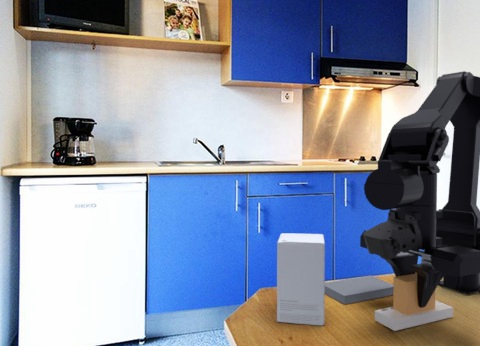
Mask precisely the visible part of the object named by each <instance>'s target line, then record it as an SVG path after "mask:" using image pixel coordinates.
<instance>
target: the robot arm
mask: <svg viewBox="0 0 480 346" xmlns="http://www.w3.org/2000/svg"><path fill="white" fill-rule="evenodd" d="M449 122H450V124H452V126H453V134H452V135H453V137H452V148H451V160H450V161H451V162H450V173H449V184H448V185H449V186H448V197H447V202H446V204H444V206H443V207H442V209H441V208H440V209H437V207H438V206H437V205H438V204H437V203H438V202H437V201H438V199H437V197H438V195H437V194H438V174H439V173H440V171H441V168H440V167H439V166H438V165H437V164H438V163H439V162H441V160H442V158H443V155H444V153H445V151H446V149H447V147H448V146H449V142H450V137H449V135H448V133H447V130H446V128H447V125H448V123H449ZM479 173H480V76H476V75H474V74H473V73H472V72H470V71H459V72H458V71H457V72H451V73H445V74H442V75H441V76H439V77H437V79H436V83H435V86H434V88H433V89H432V90H431V92H429V93H428V96H427V97H426V98H425V100H424V101H423V102H422V104H421V105H420V107H418V109H417V110H416V111H415V112H413V113H411V114H409V115H407V116H404V117H402V118H400V119H399V120H398V121H397V122H396V123H395V124H393V126H392V127H391V129H390V131H389V133H388V134H387V137H386V140H385V142H384V145H383V147H382V151H381V153H380V155H379V158H378V160H377V168H376V169H375V170H373V171H372V172H370V173H369V175H368V176H367V178H366V180H365V183H364V185H363V191H364V195H365V198H366V200H367V201H368V203H369V204H370V205H371V206H372V207H374V208H375V209H377V210H381V211H388V213H387V220H386V221H384V222H381V223H378V224H376V225H375V226H373V227H371V228H369V229H365V230H363V231H362V233H361V235H359V239H360V240H359V243H360V244H359V246H360V247H361V248H364V249H366V250H367V251H368V253H369V255H377V256H379V257H380V258H381V259H383V260H385V262H387V263H388V264H389V265H390V266H391V268H392V271H393V273H394V275H395V276H394V277H398V276H404V275H410V274H416V273H417V298H418V306H419V307H420V308H423V307H426V305H427V303H428V301H429V300H430V298H431V296H432V294H433V293H434V291H435V292H436V289H437V287H438V286H441V287H444V288H446V289H449V290H452V291H455V292H457V293H460V294H463V295H472V294H477V293H480V209H479V207H478V205H477V199H478V188H479V187H478V185H479V175H480V174H479ZM419 257H420V258H421V260H420V263H418V262H419Z"/></svg>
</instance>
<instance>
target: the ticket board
mask: <svg viewBox="0 0 480 346" xmlns="http://www.w3.org/2000/svg"><path fill="white" fill-rule="evenodd" d="M325 295H326V296H329V297H330V298H332V299H334V300H335V301H337V302H339V303H341V304H343V305H349V304H355V303H360V302H364V301H369V300H375V299H380V298H385V297H389V296H394V283H391V282H388V281H385V280H383V279H381V278H378V277H376V276H374V275H364V276H358V277H353V278H346V279H341V280H340V279H339V280H335V281H328V282H325Z"/></svg>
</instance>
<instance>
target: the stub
mask: <svg viewBox="0 0 480 346" xmlns="http://www.w3.org/2000/svg"><path fill="white" fill-rule="evenodd" d="M393 285H394V295H393V298H392V299H393V301H392V302H393V306H389V307H386V308H380V309H376V310H374V321H376V322H378V323H379V324H381V325H383V326H385V327H386V328H389V329H391V330H392V331H394V332H395V331H400V330H404V329H409V328H413V327H416V326H421V325H425V324H429V323H433V322H436V321H442V320H445V319H450V318H453V316H454V306H450V305H448V304H445V303H443V302H441V301H438V300H437V299H436V290H435V291H434V293H433V294H432V296H431V298H430V300H429V301H428V303H427V305H426V307H423V308H420V307H419V306H418V298H417V273H416V274H410V275H404V276H398V277H396V276H393Z"/></svg>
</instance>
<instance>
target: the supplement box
mask: <svg viewBox="0 0 480 346" xmlns="http://www.w3.org/2000/svg"><path fill="white" fill-rule="evenodd" d="M325 241H326V240H325V236H324V234H322V233H293V232H291V233H289V232H288V233H287V232H286V233H280V235H279V237H278V240H277V241H276V251H277V252H276V321H277V322H278V323H289V324H296V325H297V324H298V325H312V326H324V325H325V295H326V294H325V283H326V281H325V278H326V277H325V276H326V275H325V273H326V272H325V271H326V270H325V269H326V243H325Z"/></svg>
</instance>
